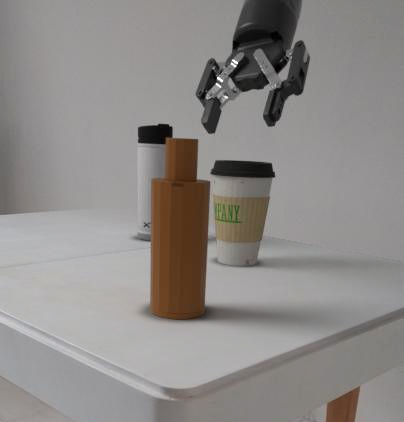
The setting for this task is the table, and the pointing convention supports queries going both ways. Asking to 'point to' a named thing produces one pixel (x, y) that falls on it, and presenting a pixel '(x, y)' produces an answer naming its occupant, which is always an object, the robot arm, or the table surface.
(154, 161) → the travel mug
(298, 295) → the table surface
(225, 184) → the coffee cup
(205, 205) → the amber bottle
